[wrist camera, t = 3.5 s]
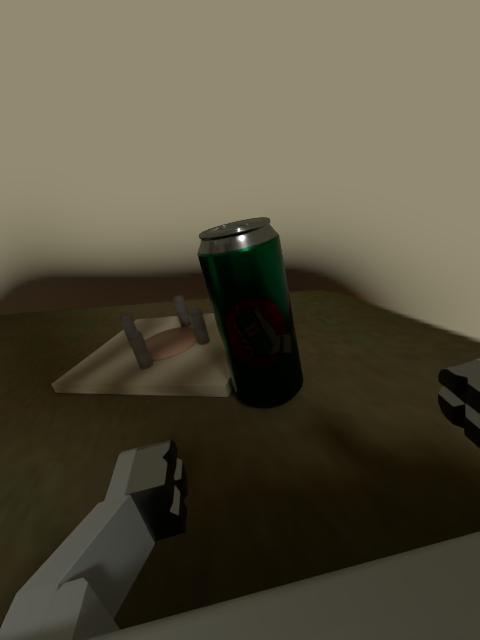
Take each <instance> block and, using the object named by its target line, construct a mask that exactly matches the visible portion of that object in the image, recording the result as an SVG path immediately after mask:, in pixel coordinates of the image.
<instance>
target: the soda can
mask: <svg viewBox="0 0 480 640" xmlns="http://www.w3.org/2000/svg"><path fill="white" fill-rule="evenodd" d="M269 223H270V219H269V218H266V217H262V218H253V219H246V220H242V221H237V222H233V223H228V224H224V225H221V226H217V227H214V228H211V229H208V230H206V231H204V232H202V233H200V234H199V238H200V239H201V244H200V247H199V251H198V258H199V261H200V265H201V269H202V273H203V276H204V280H205V283H206V287H207V291H208V295H209V298H210V302H211V306H212V309H213V313H214V317H215V320H216V324H217V328H218V331H219V335H220V339H221V342H222V346H223V350H224V353H225V357H226V361H227V364H228V368H229V371H230V375H231V379H232V382H233V386H234V390H235V393H236V395H237V397H238V398H239V399H240V400H241V401H243V402H245V403H247V404H248V405H251V406H254V407H258V408H272V407H276V406H280V405H282V404H284V403H286V402H288V401H290V400H291V399H292V398H293V397H294V396H295V395H296V394H297V393H298V392H299V390H300V389H301V387H302V384H303V375H302V369H301V363H300V357H299V351H298V345H297V339H296V333H295V327H294V321H293V315H292V310H291V304H290V298H289V292H288V286H287V280H286V274H285V268H284V262H283V256H282V250H281V245H280V238H279V235H278V233H277V232H276V231H275V230H274V229H273V228H272V227H271V225H270V224H269Z"/></svg>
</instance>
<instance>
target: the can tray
mask: <svg viewBox="0 0 480 640" xmlns="http://www.w3.org/2000/svg"><path fill="white" fill-rule="evenodd" d="M173 303H174V306H175V309H176V312H177V315H178V316H173V317H161V318H148V319H137V320H136V321H133V319H132V317H131V316H130V315H129V314H124V315H122V316H121V318H120V321H121V324H122V326H123V329H124V330H122V331H121V332H120V333H118V334H117V335H116V336H114V337H113V338H112V339H110V340H109V341H108V342H106V343H105V344H104V345H102V346H101V347H100V348H99V349H97V350H96V351H95V352H93V353H92V354H91V355H89V356H88V357H87V358H85V359H84V360H83V361H81V362H80V363H79V364H77V365H76V366H75V367H73V368H72V369H71V370H69V371H68V372H67V373H65V374H64V375H63V376H61V377H60V378H59V379H57V380H56V381H55V382H54V383H52V384H51V385H52V386H53V388H54V390H55V392H56V393H86V394H126V395H165V396H204V397H229V395H230V393H231V391H232V389H233V387H234V386H233V382H232V379H231V375H230V371H229V368H228V364H227V361H226V357H225V353H224V350H223V346H222V342H221V339H220V335H219V331H218V328H217V324H216V320H215V317H214V313H210V314H202V311H201V310H200V309H199V308H193V309H191V310H190V313H189V314H188V311H187V307H186V304H185V301H184V298H183V297H182V296H176V297H175V298H174V299H173Z"/></svg>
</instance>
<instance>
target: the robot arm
mask: <svg viewBox="0 0 480 640" xmlns="http://www.w3.org/2000/svg"><path fill="white" fill-rule="evenodd" d="M438 381H439V382H440V383H441V384H442V385H443V387H442V388H441V390H440V391H439V393H438V403H439V406H440V408H441V411H442V413H443V414H444V416H445V417H446V418H447V419H448V420H449V421H450V422H451V423H452V424H454V425H456V426H459V427H462V428H464V434H465V436H466V437H467V438H468V439H470V440H471V441H472V442H473V443H474V444H475V445H476V446H477V447H478V448H480V359H476V360H474V361H471V362H467V363H463V364H459V365H456V366H452V367H448V368H445V369H441V371H440V373H439V378H438ZM177 453H178V449H177V447H176V444H175V442H174V441H173V440H168V441H163V442H159V443H155V444H151V445H147V446H142V447H139V448H135V449H131V450H127V451H123V452H121V453H120V454H119V456H118V459H117V462H116V465H115V468H114V472H113V475H112V478H111V481H110V484H109V487H108V491H107V494H106V497H105V500H104V501H103V502H100V503H98V504H97V505H96V506H95V507H94V509H93V510H92V511H91V512H90V513H89V514H88V515H87V516H86V517H85V519H84V520H83V521H82V522H81V523H80V524H79V525H78V526H77V527H76V528H75V530H74V531H73V532H72V533H71V534H70V535H69V536H68V537H67V538H66V539H65V541H64V542H63V543H62V544H61V545H60V546H59V547H58V548H57V549H56V551H55V552H54V553H53V554H52V555H51V556H50V557H49V558H48V559H47V560H46V562H45V563H44V564H43V565H42V566H41V567H40V568H39V569H38V570H37V571H36V573H35V574H34V575H33V576H32V577H31V578H30V579H29V580H28V581H27V583H26V584H25V585H24V586H23V587H22V588H21V589H20V590H19V591H18V592H17V594H16V595H15V598H14V600H13V602H12V604H11V606H10V609H9V611H8V613H7V615H6V617H5V619H4V622H3V624H2V626H1V628H0V640H480V531H479V532H475V533H472V534H468V535H465V536H461V537H457V538H454V539H450V540H446V541H443V542H439V543H436V544H432V545H428V546H425V547H421V548H417V549H414V550H410V551H406V552H403V553H399V554H395V555H392V556H388V557H384V558H381V559H377V560H374V561H370V562H366V563H363V564H359V565H355V566H352V567H348V568H344V569H341V570H337V571H333V572H330V573H326V574H322V575H319V576H315V577H311V578H308V579H304V580H300V581H297V582H293V583H290V584H286V585H282V586H279V587H275V588H271V589H268V590H264V591H260V592H257V593H253V594H249V595H246V596H242V597H238V598H235V599H231V600H228V601H224V602H220V603H217V604H213V605H209V606H206V607H202V608H198V609H195V610H191V611H187V612H184V613H180V614H177V615H173V616H169V617H166V618H162V619H158V620H155V621H151V622H147V623H144V624H140V625H136V626H133V627H129V628H126V629H122V630H120V629H119V627H118V626H117V624H116V623H115V622H114V618H115V616H116V614H117V612H118V610H119V609H120V607H121V605H122V603H123V601H124V600H125V598H126V596H127V594H128V592H129V590H130V589H131V587H132V585H133V583H134V581H135V579H136V578H137V576H138V574H139V572H140V570H141V569H142V567H143V565H144V563H145V561H146V559H147V558H148V556H149V554H150V552H151V550H152V548H153V547H154V545H155V541H159V540H162V539H165V538H168V537H172V536H175V535H178V534H182V533H185V532H186V518H187V508H186V506H185V503H184V499H185V498H186V496H187V495H188V483H187V475H186V471H185V467H184V464H183V461H182V460H180V459H178V458H177Z"/></svg>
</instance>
